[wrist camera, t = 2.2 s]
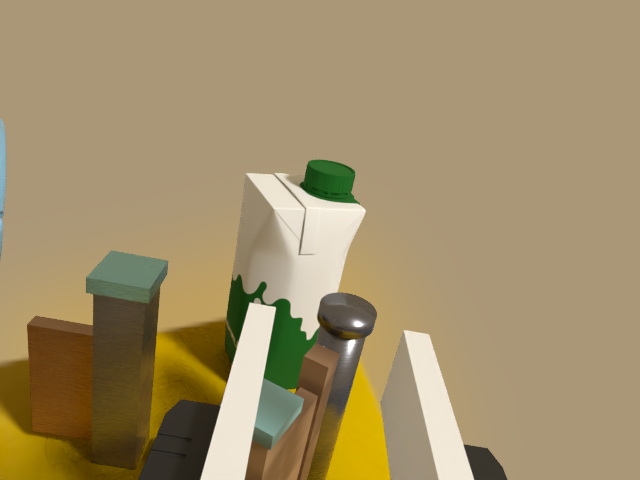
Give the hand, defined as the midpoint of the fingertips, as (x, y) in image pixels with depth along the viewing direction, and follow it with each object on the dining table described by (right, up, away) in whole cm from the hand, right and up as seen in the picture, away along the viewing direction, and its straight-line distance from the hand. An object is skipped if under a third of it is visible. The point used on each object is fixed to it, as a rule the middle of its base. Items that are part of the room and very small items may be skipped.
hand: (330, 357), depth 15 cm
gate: (-4, -15, +16) cm, 22 cm away
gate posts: (-10, -13, +22) cm, 27 cm away
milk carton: (-5, -9, +33) cm, 35 cm away
